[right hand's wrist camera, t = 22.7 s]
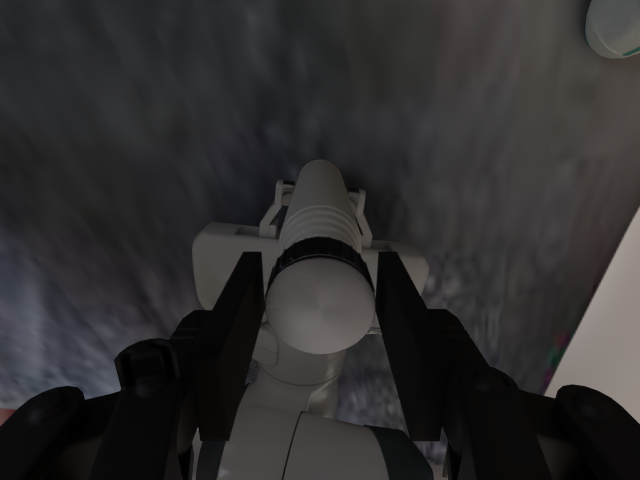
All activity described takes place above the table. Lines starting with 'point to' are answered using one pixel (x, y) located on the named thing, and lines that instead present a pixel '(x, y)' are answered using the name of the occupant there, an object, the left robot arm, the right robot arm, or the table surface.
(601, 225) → the table surface
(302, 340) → the cap
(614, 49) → the ballet flat
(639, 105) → the table surface
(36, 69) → the table surface
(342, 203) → the bottle
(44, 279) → the table surface
